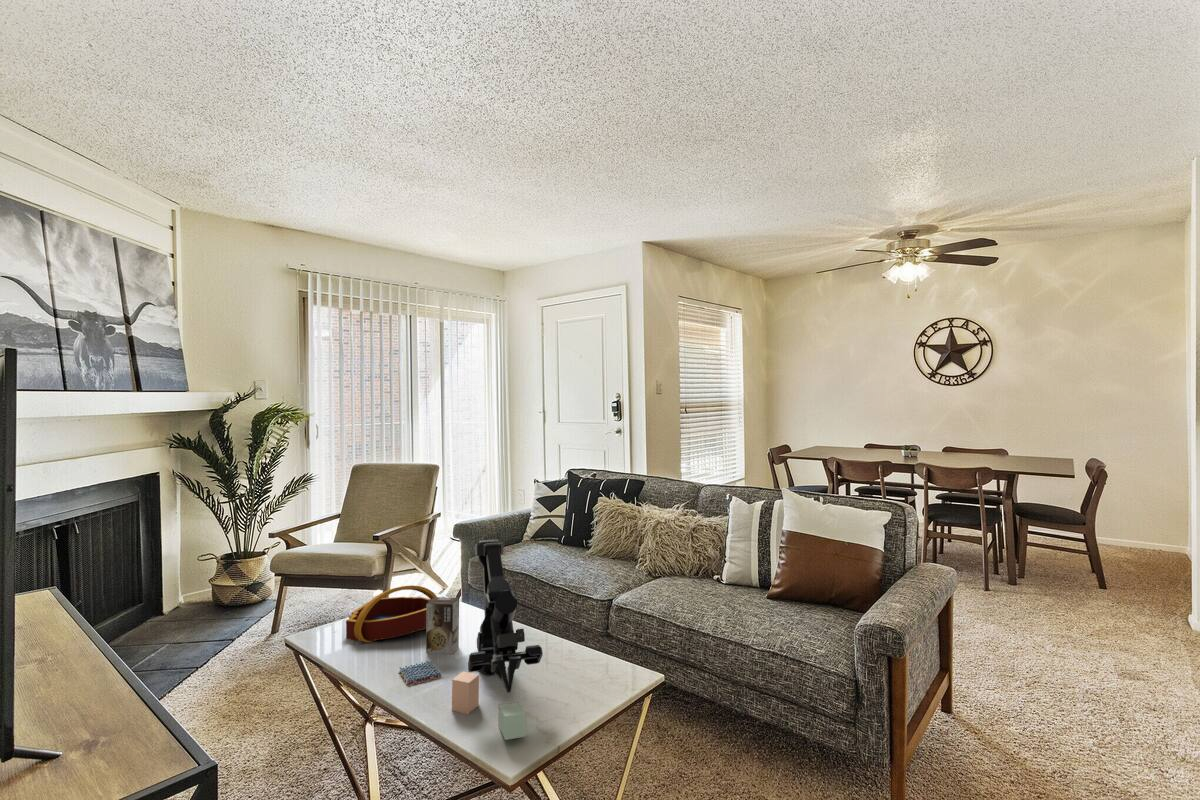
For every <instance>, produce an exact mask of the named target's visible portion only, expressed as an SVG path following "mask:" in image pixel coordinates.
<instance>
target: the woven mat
mask: <svg viewBox="0 0 1200 800" xmlns="http://www.w3.org/2000/svg"><path fill="white" fill-rule="evenodd" d="M398 674H399V676H400V677H401V678H402V680H403V681H404V682H405V684H406V685H407V686H408V687H409V686H413V685H417V684H418V685H419V684H421V683H426V682H429V681H434V680H437V679H441V678H443V675H442V674H443V673H442V671H440V668H438V667H437V666H436V665H435V664H434V663H433V662H432V661H428V660H426V661H425V662H420V663H416V664H415V665H412V664H410V666H409V665H408V666H407V665H405V667H399V671H398Z"/></svg>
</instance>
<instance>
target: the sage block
mask: <svg viewBox="0 0 1200 800" xmlns="http://www.w3.org/2000/svg"><path fill="white" fill-rule="evenodd" d="M498 727H499V730H500V732H501V734H502V736H503V738H504V740H505V741H507V740H513V739H518V738H525V737H527V713H526V711H525V709H524V708H523V706H522V705H521V703H520V702H519V701H514V702H508V703H501V704H498Z"/></svg>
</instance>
